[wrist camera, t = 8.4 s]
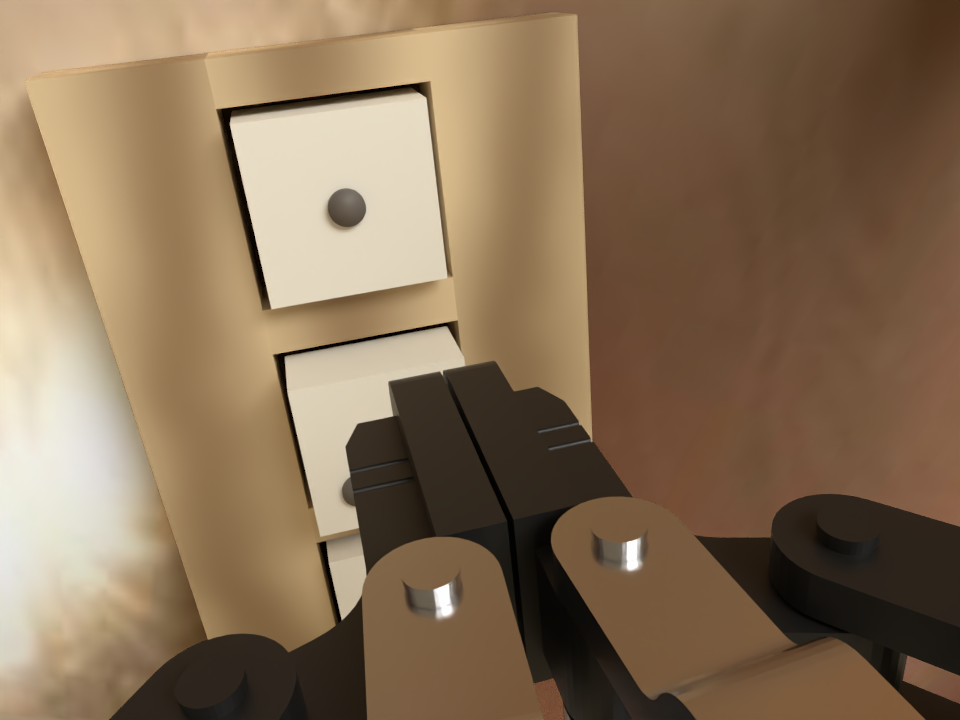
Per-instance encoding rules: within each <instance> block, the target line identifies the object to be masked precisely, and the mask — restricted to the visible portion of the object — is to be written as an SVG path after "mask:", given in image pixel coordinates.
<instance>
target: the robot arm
mask: <svg viewBox="0 0 960 720" xmlns="http://www.w3.org/2000/svg"><path fill="white" fill-rule="evenodd" d="M388 386H389V394H390V400H391V406H392V412H393V416H392V417H388V418H383V419H378V420H373V421H368V422H363V423H358V424H357V425H356V427H355V429H354V431H353V433H352V435H351V437H350V439H349V441H348V443H347V444H346V446H345V448H346V454H347V460H348V466H349V472H350V478H351V484H352V490H353V495H354V501H355V507H356V513H357V519H358V525H359V531H360V537H361V542H362V548H363V554H364V560H365V566H366V578H365V581H364V584H363V587H362V595H361V597H360V599H359V601H358V602H357V604H356V605H355V607H354V608H353V609H352V610H351V612H350V613H349V614H348V615H347V616H346V617H345V618H344V619H343V620H342V621H341V622H340V623H338V624H337V625H336V626H334V627H333V628H332V629H330V630H329V631H327V632H326V633H324V634H322V635H321V636H319V637H317V638H315V639H314V640H312V641H310V642H308V643H306V644H304V645H302V646H300V647H298V648H296V649H294V650H292V651H290V652H288V651H287V650H286V649H285V648H284V647H283V646H282V645H281V644H279V643H278V642H276V641H275V640H272V639H270V638H268V637H265V636H261V635H256V634H244V633H241V634H229V635H224V636H219V637H215V638H212V639H209V640H206V641H203V642H201V643H198V644H196V645H194V646H192V647H190V648H188V649H186V650H184V651H183V652H181V653H179V654H177V655H176V656H175V657H173V658H172V659H171V660H169V661H168V662H166V663H165V664H164V665H163V666H162V667H161V668H160V669H159V670H157V671H156V672H155V673H154V674H153V675H152V676H151V677H150V678H149V679H148V680H147V681H146V682H145V684H144V685H143V686H142V687H141V688H140V689H139V690H138V691H137V692H136V693H135V694H134V695H133V696H132V697H131V698H130V699H129V700H128V701H127V702H126V703H125V704H124V705H123V706H122V707H121V708H120V709H119V710H118V711H117V712H116V713H115V714H114V715H113V716H112V717H111V718H110V720H544V718H543V715H542V711H541V708H540V704H539V701H538V697H537V693H536V690H535V686H534V683H537V682H540V681H544V680H548V679H552V678H554V680H555V682H556V685H557V687H558V690H559V692H560V695H561V697H562V700H563V714H564V720H960V704H958V703H956V702H953V701H951V700H948V699H946V698H944V697H941V696H939V695H936V694H934V693H931V692H929V691H926V690H924V689H922V688H919V687H917V686H914V685H912V684H909V683H907V682H904V681H902V680H903V675H904V670H905V665H906V659H907V655H908V656H911V657H913V658H916V659H919V660H921V661H924V662H926V663H929V664H931V665H934V666H937V667H939V668H942V669H944V670H947V671H949V672H952V673H954V674H957V675H960V527H959V526H955V525H952V524H948V523H945V522H942V521H938V520H935V519H931V518H928V517H925V516H921V515H918V514H914V513H911V512H908V511H904V510H901V509H897V508H894V507H891V506H887V505H884V504H880V503H877V502H874V501H870V500H867V499H863V498H858V497H854V496H847V495H838V494H820V495H812V496H806V497H803V498H799V499H796V500H794V501H792V502H790V503H788V504H787V505H785V506H784V507H782V508H781V509H780V510H779V511H778V512H777V514H776V515H775V517H774V519H773V523H772V530H771V538H715V537H703V536H696V535H693V534H692V533H691V532H690V530H689V529H688V528H687V527H686V526H685V525H684V524H683V523H682V522H681V521H680V519H678V518H677V517H676V516H675V515H674V514H673V513H672V512H670V511H669V510H667V509H665V508H664V507H662V506H660V505H657V504H655V503H652V502H649V501H646V500H642V499H638V498H633V497H632V496H631V494H630V493H629V491H628V490H627V489H626V487H625V486H624V484H623V483H622V481H621V480H620V479H619V477H618V476H617V474H616V473H615V472H614V470H613V469H612V467H611V466H610V464H609V463H608V462H607V460H606V459H605V457H604V456H603V455H602V453H601V452H600V450H599V449H598V448H597V446H596V445H595V443H594V442H591V438H590V436H589V435H588V433H587V432H586V431H585V429H584V428H583V426H582V425H579V421H578V419H577V418H576V416H575V415H574V414H573V412H572V411H571V409H570V408H569V407H568V405H567V404H566V402H565V401H564V400H562V399H560V398H558V397H556V396H555V395H553V394H551V393H549V392H547V391H545V390H543V389H542V388H540V387H534V388H529V389H524V390H519V391H513V389H512V388H511V386H510V384H509V383H508V381H507V379H506V378H505V376H504V374H503V373H502V371H501V369H500V368H499V366H498V364H497V363H496V362H495V361H488V362H483V363H478V364H473V365H468V366H463V367H458V368H452V369H447V370H443V376H442V374H441V372H440V371H438V372H433V373H428V374H423V375H418V376H413V377H408V378H402V379H397V380H392V381H388Z"/></svg>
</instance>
